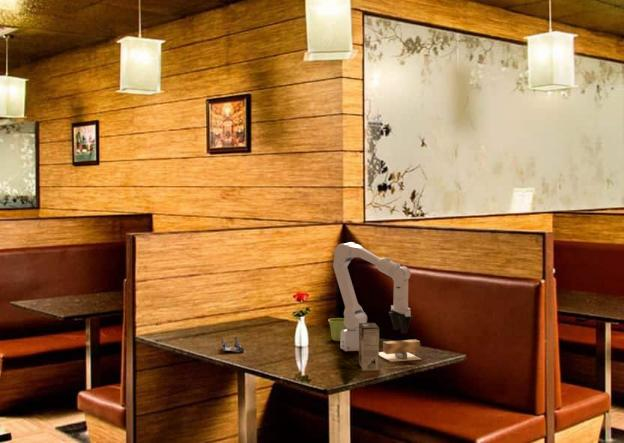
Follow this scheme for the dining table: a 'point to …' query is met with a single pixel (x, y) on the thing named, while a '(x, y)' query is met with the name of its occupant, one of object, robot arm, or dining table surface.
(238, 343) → the grey irregular piece
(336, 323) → the plant pot
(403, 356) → the fulcrum strip
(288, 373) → the dining table surface
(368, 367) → the coffee box
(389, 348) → the oak bar
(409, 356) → the serving board
